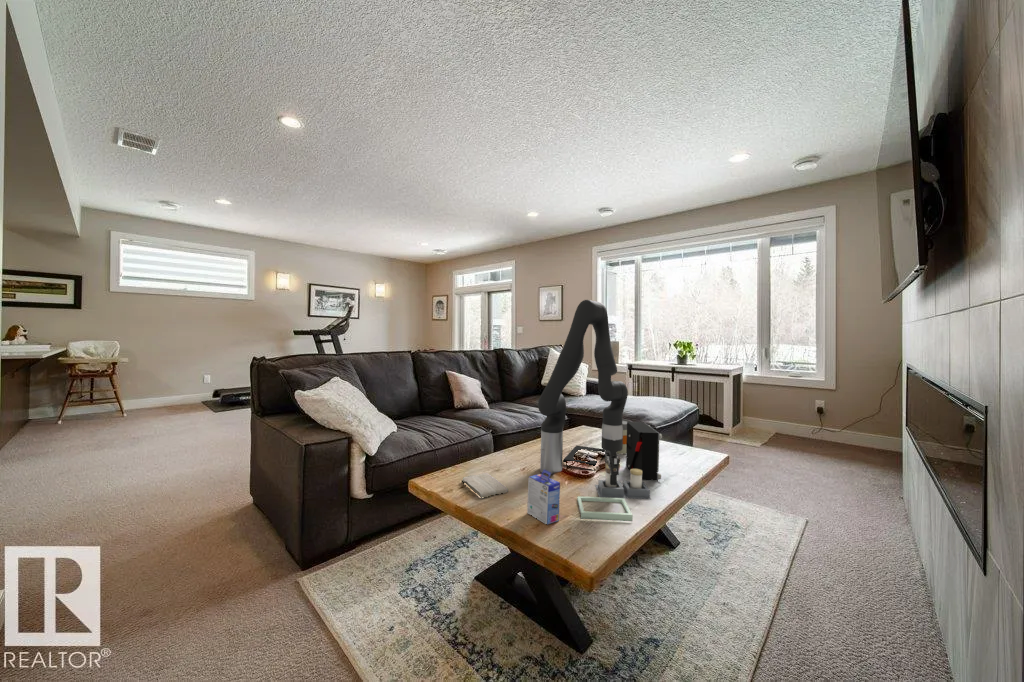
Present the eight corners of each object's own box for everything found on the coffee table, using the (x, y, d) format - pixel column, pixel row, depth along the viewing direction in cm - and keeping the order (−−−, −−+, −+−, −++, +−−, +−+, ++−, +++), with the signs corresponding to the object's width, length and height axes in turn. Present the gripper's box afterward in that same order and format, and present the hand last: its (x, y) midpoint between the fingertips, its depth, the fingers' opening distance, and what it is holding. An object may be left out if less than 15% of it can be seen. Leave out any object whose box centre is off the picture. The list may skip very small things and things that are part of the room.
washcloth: (486, 477, 156) (486, 470, 156) (509, 494, 140) (509, 485, 140) (459, 483, 149) (459, 475, 149) (480, 501, 134) (480, 492, 134)
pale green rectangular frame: (581, 518, 122) (581, 512, 122) (577, 501, 134) (577, 496, 134) (632, 521, 121) (632, 514, 121) (623, 504, 133) (624, 498, 132)
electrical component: (662, 483, 152) (663, 433, 151) (636, 482, 152) (637, 432, 151) (647, 467, 169) (648, 422, 169) (624, 466, 169) (625, 421, 169)
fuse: (605, 493, 139) (606, 465, 138) (604, 488, 143) (604, 462, 143) (617, 493, 138) (618, 466, 138) (615, 489, 143) (616, 462, 142)
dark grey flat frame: (562, 466, 170) (563, 459, 170) (575, 451, 191) (576, 445, 191) (595, 471, 164) (595, 464, 164) (604, 455, 186) (604, 449, 185)
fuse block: (599, 499, 136) (599, 474, 135) (594, 487, 147) (595, 463, 146) (651, 502, 134) (651, 476, 134) (642, 489, 145) (643, 465, 145)
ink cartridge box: (560, 520, 120) (561, 475, 120) (547, 526, 117) (548, 479, 116) (539, 508, 128) (539, 465, 128) (526, 513, 125) (527, 469, 124)
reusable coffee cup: (602, 451, 191) (602, 421, 190) (613, 445, 200) (613, 417, 200) (626, 456, 183) (626, 425, 182) (636, 450, 192) (637, 421, 192)
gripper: (598, 430, 148) (597, 473, 148) (605, 441, 133) (604, 488, 134) (618, 431, 147) (617, 473, 147) (627, 441, 133) (626, 489, 133)
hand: (611, 480), depth 141 cm, fingers open, 7 cm apart
